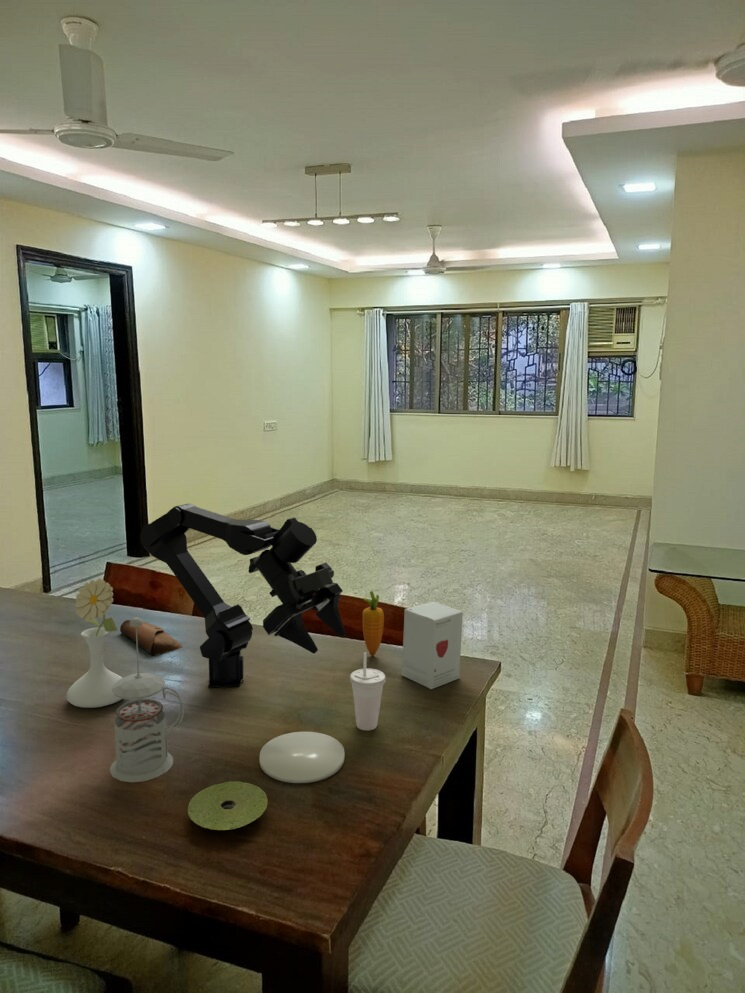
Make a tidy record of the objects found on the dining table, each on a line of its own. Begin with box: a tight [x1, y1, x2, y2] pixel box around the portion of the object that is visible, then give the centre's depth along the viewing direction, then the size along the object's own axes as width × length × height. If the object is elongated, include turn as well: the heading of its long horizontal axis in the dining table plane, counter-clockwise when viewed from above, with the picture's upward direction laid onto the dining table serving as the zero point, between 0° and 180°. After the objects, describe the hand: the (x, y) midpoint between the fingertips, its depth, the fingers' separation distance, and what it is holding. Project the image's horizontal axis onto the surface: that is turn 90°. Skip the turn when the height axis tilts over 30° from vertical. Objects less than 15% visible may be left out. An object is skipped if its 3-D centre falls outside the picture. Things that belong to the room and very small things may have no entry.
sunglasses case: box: [119, 619, 184, 657], centre depth 163 cm, size 18×7×7 cm, turn 42°
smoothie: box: [349, 651, 386, 731], centre depth 124 cm, size 6×6×14 cm
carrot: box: [361, 590, 385, 657], centre depth 155 cm, size 5×5×15 cm
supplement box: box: [401, 601, 464, 690], centre depth 145 cm, size 9×9×15 cm
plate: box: [259, 731, 346, 784], centre depth 114 cm, size 14×14×1 cm
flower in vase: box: [65, 578, 123, 709], centre depth 131 cm, size 13×11×25 cm
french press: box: [109, 616, 185, 783], centre depth 110 cm, size 10×12×25 cm
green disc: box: [187, 781, 268, 831], centre depth 99 cm, size 11×11×2 cm
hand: (330, 643), depth 127 cm, fingers open, 9 cm apart
